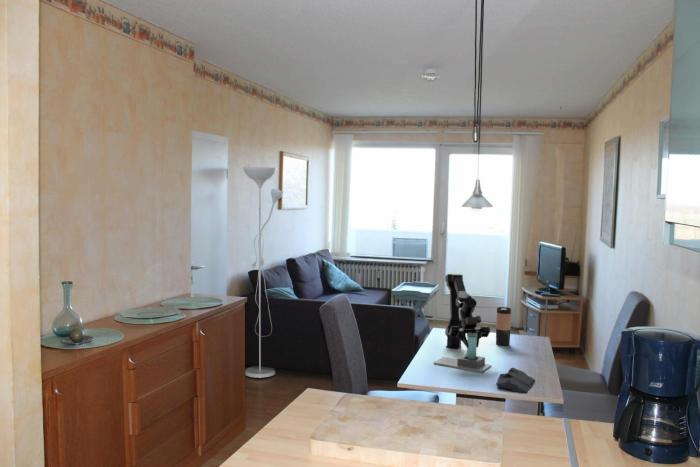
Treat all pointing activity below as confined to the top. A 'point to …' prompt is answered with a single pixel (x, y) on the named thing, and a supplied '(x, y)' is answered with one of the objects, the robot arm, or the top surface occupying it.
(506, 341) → the travel mug
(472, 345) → the teal cylinder
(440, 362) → the holder board
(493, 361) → the top surface
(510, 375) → the dark slate chunk
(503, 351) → the top surface
